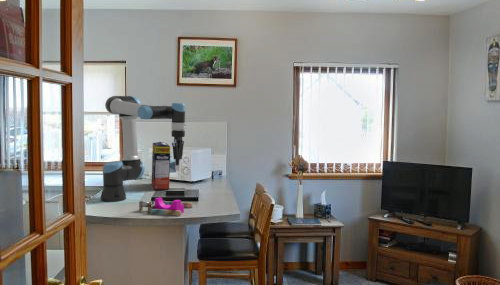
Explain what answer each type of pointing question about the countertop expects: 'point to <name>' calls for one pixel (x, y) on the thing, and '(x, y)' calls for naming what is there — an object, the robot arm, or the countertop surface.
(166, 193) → the countertop surface
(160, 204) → the toy block
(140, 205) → the winch drum
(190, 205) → the rack bay
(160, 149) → the cereal box
